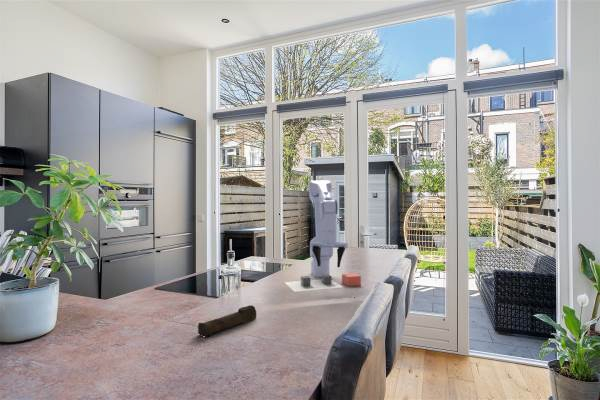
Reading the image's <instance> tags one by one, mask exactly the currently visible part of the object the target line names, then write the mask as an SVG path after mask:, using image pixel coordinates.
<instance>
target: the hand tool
mask: <svg viewBox="0 0 600 400" xmlns="http://www.w3.org/2000/svg"><path fill="white" fill-rule="evenodd" d="M256 318H257V310H256V306H253V305H251V304H250V305H246V306H243V307H239V308H238V310H237V311H235V312H233V313H230V314H227V315H224V316H222V317H218V318H214V319H211V320H208V321H205V322H198V325H197V333H198V335H199V334H200V335H202V336H205V337H206V336H207V335H211V336H212V334H215V333H217V332H220V331H223V330H227V329H228V328H232V327H235V326H237V325H246V324H249V323H251V322H252V321H254V320H256ZM250 321H251V322H250ZM248 322H249V323H248ZM207 337H208V336H207ZM207 337H206V338H207Z"/></svg>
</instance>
